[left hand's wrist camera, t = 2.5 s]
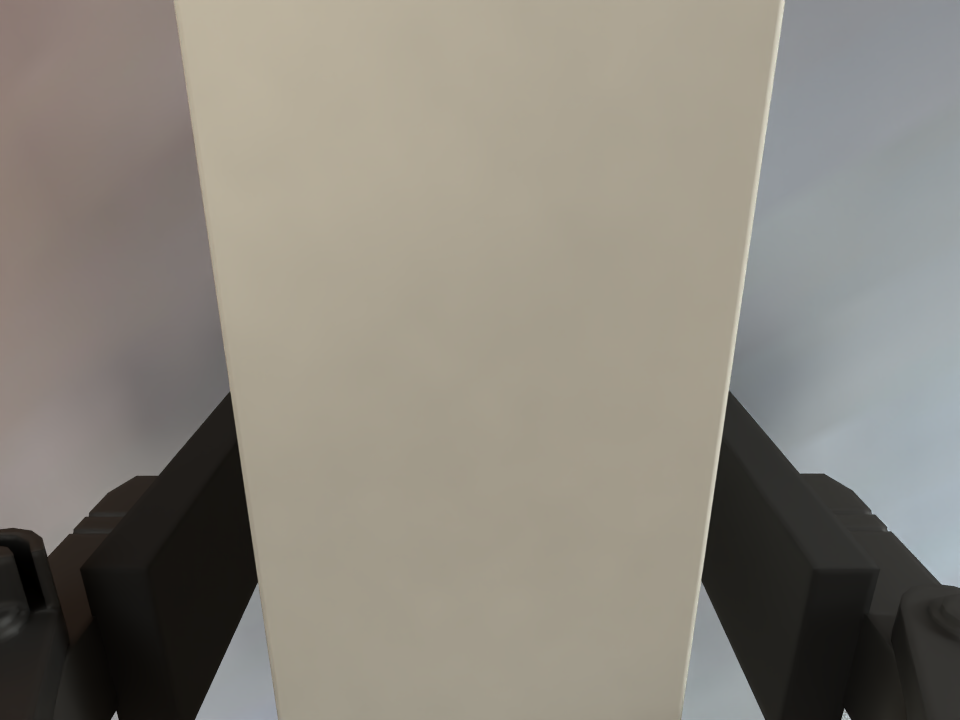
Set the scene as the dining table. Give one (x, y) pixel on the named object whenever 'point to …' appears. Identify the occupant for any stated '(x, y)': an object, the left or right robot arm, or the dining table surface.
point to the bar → (479, 335)
